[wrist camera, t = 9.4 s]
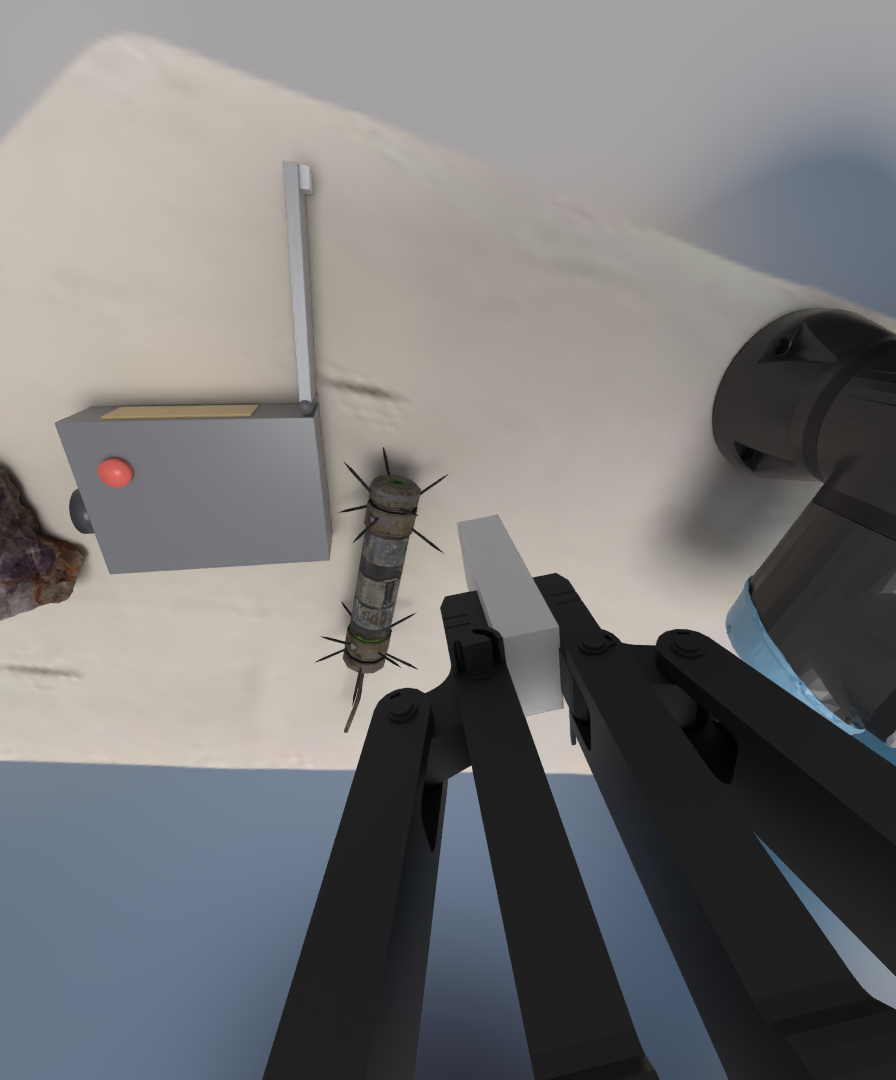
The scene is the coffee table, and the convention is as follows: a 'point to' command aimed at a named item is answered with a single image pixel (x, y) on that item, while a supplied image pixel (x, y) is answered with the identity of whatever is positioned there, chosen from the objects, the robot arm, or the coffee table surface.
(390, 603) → the bomb
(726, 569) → the coffee table surface
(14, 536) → the rock
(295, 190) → the side door
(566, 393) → the coffee table surface
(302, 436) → the camera body
